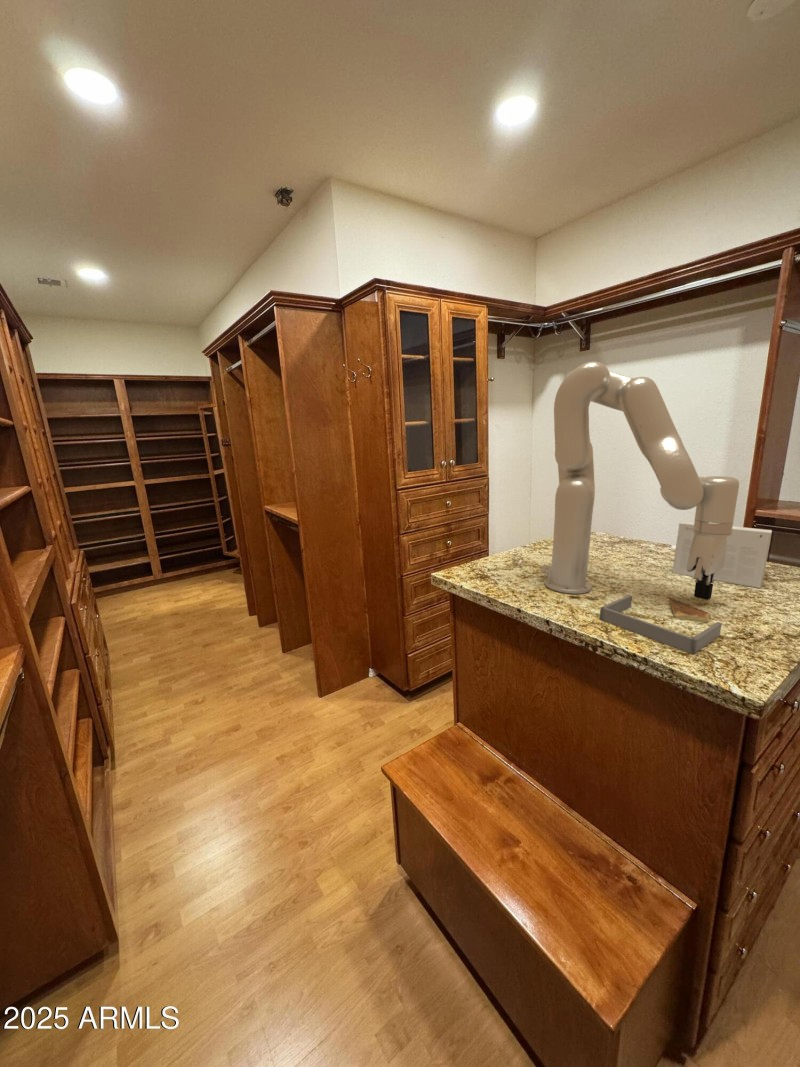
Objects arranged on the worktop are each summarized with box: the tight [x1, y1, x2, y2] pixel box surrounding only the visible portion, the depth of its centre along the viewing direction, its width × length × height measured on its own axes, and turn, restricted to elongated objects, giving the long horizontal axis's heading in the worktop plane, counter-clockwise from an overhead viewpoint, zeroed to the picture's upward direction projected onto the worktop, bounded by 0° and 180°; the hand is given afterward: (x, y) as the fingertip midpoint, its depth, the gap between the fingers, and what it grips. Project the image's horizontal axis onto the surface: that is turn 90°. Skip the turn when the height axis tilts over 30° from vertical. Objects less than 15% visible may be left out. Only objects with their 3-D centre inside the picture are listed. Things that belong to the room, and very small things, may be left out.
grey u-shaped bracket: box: [599, 594, 723, 655], centre depth 92 cm, size 20×13×3 cm, turn 34°
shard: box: [668, 597, 711, 624], centre depth 99 cm, size 11×8×2 cm
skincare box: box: [671, 520, 773, 589], centre depth 119 cm, size 21×5×16 cm, turn 47°
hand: (702, 597), depth 104 cm, fingers closed
